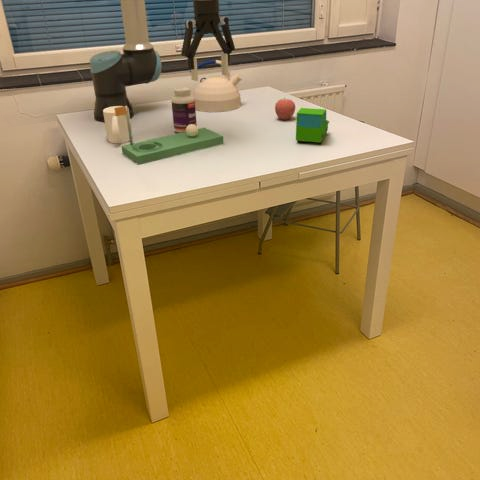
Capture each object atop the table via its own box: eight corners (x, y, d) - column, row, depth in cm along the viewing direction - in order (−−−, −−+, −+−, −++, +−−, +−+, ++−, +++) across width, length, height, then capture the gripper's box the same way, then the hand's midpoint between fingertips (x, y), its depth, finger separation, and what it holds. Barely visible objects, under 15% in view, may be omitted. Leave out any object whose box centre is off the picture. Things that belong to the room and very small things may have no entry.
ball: (184, 136, 155) (182, 124, 153) (194, 133, 157) (193, 121, 155) (190, 139, 152) (189, 126, 150) (200, 136, 154) (200, 124, 152)
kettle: (242, 112, 188) (240, 64, 179) (189, 113, 188) (185, 65, 179) (242, 99, 205) (241, 54, 196) (194, 100, 206) (191, 56, 197)
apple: (272, 121, 176) (272, 99, 172) (278, 115, 181) (278, 94, 177) (291, 122, 173) (292, 100, 169) (297, 117, 179) (297, 95, 175)
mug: (129, 105, 160) (126, 114, 150) (133, 135, 165) (130, 146, 155) (104, 106, 159) (99, 116, 149) (109, 136, 165) (104, 147, 154)
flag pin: (120, 146, 147) (114, 107, 141) (132, 144, 149) (126, 105, 143) (121, 147, 147) (115, 108, 141) (133, 144, 149) (127, 106, 143)
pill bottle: (193, 134, 164) (190, 92, 157) (171, 134, 165) (166, 91, 158) (199, 127, 171) (196, 86, 163) (178, 127, 172) (174, 86, 165)
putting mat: (122, 153, 149) (121, 145, 148) (204, 134, 164) (204, 127, 162) (138, 164, 141) (137, 156, 139) (223, 143, 155) (223, 136, 154)
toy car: (331, 133, 161) (333, 104, 156) (324, 146, 151) (326, 114, 146) (301, 131, 164) (302, 102, 159) (292, 143, 154) (293, 112, 149)
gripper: (176, 1, 130) (183, 85, 141) (245, -4, 141) (247, 74, 152) (164, 0, 135) (172, 80, 146) (231, -4, 146) (233, 71, 157)
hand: (210, 77), depth 149 cm, fingers open, 10 cm apart
